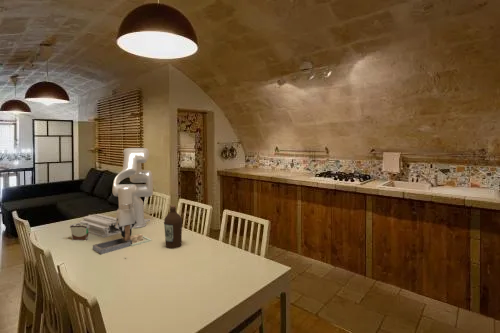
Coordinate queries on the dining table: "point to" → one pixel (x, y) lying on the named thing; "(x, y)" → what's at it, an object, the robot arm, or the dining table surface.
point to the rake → (126, 234)
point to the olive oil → (173, 228)
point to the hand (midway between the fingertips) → (126, 235)
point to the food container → (79, 231)
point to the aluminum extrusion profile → (101, 225)
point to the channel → (110, 246)
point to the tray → (142, 241)
